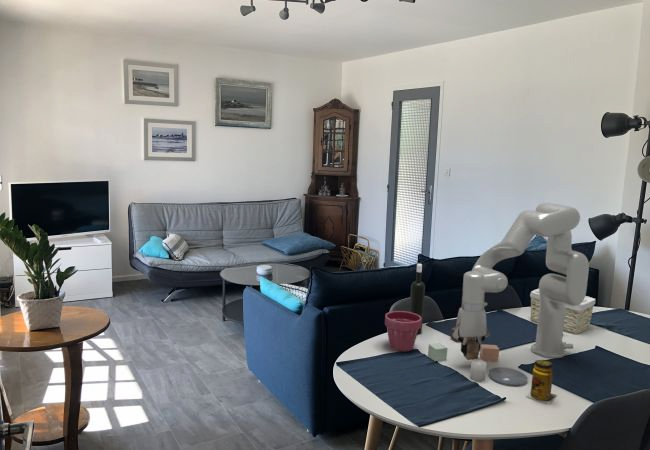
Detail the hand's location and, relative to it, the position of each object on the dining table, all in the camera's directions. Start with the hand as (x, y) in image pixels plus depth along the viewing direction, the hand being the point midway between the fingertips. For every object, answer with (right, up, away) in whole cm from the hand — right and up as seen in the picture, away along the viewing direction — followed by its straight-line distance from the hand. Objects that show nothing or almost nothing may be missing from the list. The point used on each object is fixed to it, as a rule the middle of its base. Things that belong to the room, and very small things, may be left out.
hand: (470, 353), depth 193 cm
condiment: (+18, -9, -21) cm, 29 cm away
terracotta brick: (+9, -4, +8) cm, 13 cm away
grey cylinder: (0, -7, -9) cm, 11 cm away
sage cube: (-11, -4, +6) cm, 13 cm away
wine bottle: (-15, +1, +33) cm, 36 cm away
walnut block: (0, -1, 0) cm, 1 cm away
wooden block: (+4, -1, +27) cm, 27 cm away
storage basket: (+55, +1, +49) cm, 73 cm away
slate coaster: (+11, -7, -8) cm, 15 cm away
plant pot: (-23, -2, +16) cm, 28 cm away
